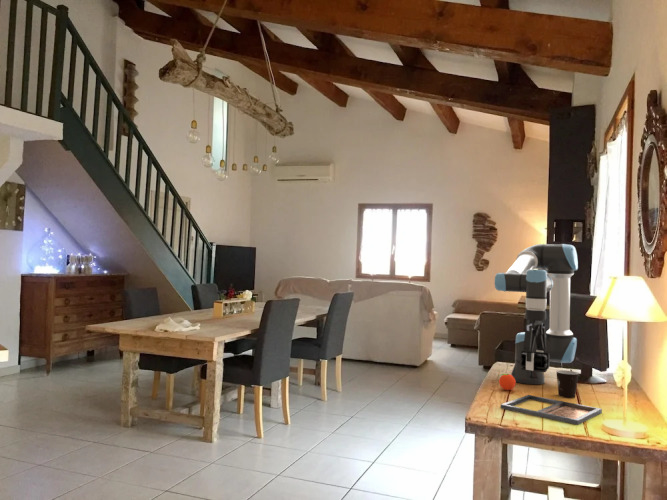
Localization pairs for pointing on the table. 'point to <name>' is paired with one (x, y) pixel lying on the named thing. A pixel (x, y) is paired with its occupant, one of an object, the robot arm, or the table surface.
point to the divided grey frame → (555, 410)
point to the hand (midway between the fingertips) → (534, 368)
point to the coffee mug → (567, 383)
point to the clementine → (507, 381)
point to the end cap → (537, 361)
